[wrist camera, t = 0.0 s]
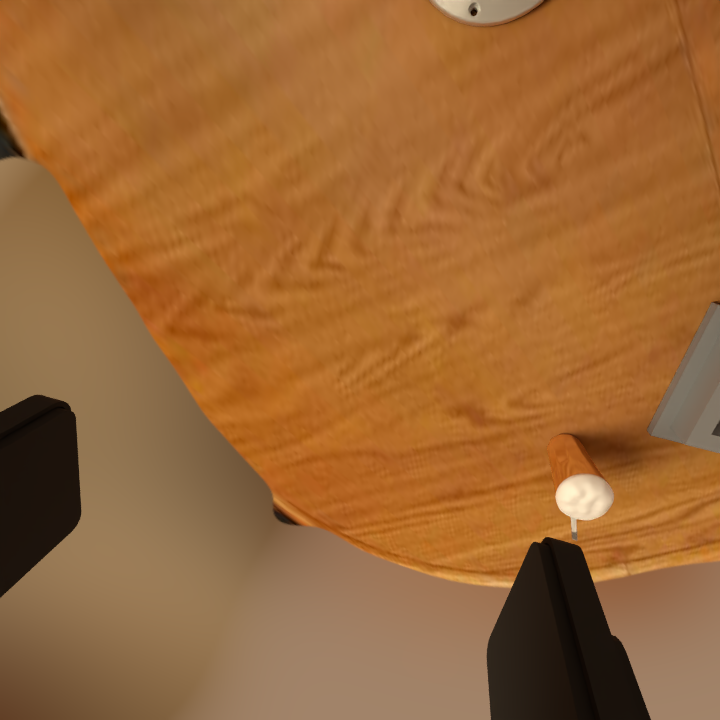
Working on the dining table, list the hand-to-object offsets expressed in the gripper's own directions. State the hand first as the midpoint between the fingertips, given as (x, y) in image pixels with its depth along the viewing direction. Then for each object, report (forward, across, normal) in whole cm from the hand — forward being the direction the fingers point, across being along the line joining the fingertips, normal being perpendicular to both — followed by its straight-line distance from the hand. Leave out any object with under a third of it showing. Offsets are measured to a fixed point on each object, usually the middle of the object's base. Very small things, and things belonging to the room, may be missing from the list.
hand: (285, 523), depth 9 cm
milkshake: (+37, -19, +16) cm, 45 cm away
